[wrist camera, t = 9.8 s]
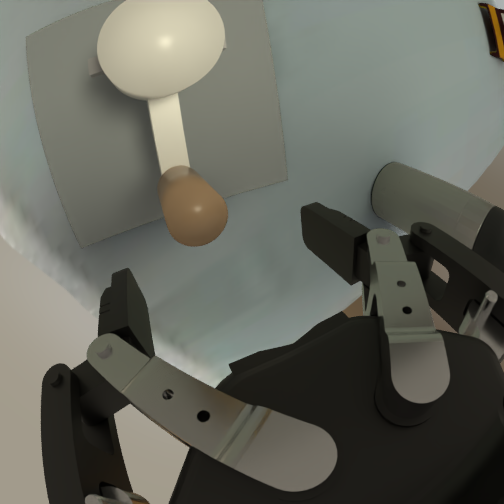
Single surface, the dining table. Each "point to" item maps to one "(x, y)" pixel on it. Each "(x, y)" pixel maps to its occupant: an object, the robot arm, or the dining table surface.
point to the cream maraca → (167, 96)
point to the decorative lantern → (496, 28)
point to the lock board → (139, 125)
